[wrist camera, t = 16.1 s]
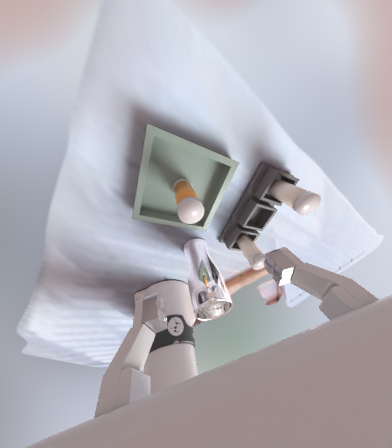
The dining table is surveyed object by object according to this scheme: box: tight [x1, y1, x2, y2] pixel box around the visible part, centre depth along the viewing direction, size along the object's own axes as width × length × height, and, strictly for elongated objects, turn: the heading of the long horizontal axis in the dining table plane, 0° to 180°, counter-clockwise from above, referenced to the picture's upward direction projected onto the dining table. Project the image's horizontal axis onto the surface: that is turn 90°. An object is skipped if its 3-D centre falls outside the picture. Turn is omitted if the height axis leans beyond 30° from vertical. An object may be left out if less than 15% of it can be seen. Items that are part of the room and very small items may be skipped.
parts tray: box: [132, 123, 239, 232], centre depth 24 cm, size 14×14×3 cm
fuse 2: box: [267, 177, 321, 215], centre depth 24 cm, size 3×3×9 cm
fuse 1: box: [235, 233, 266, 270], centre depth 31 cm, size 3×3×9 cm
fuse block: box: [218, 162, 299, 251], centre depth 31 cm, size 19×8×4 cm, turn 159°
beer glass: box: [183, 238, 233, 321], centre depth 29 cm, size 7×7×15 cm
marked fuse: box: [173, 178, 204, 224], centre depth 21 cm, size 3×3×9 cm
